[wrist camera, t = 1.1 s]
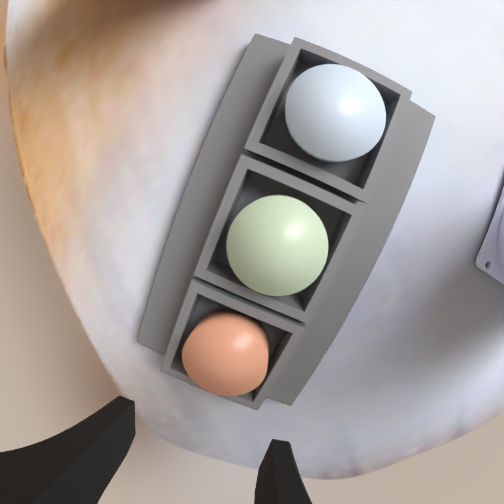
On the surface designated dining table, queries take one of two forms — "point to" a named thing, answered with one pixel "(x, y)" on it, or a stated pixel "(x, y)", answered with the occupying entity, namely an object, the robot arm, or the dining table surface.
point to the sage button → (277, 245)
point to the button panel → (287, 183)
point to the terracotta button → (227, 353)
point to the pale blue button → (334, 113)
